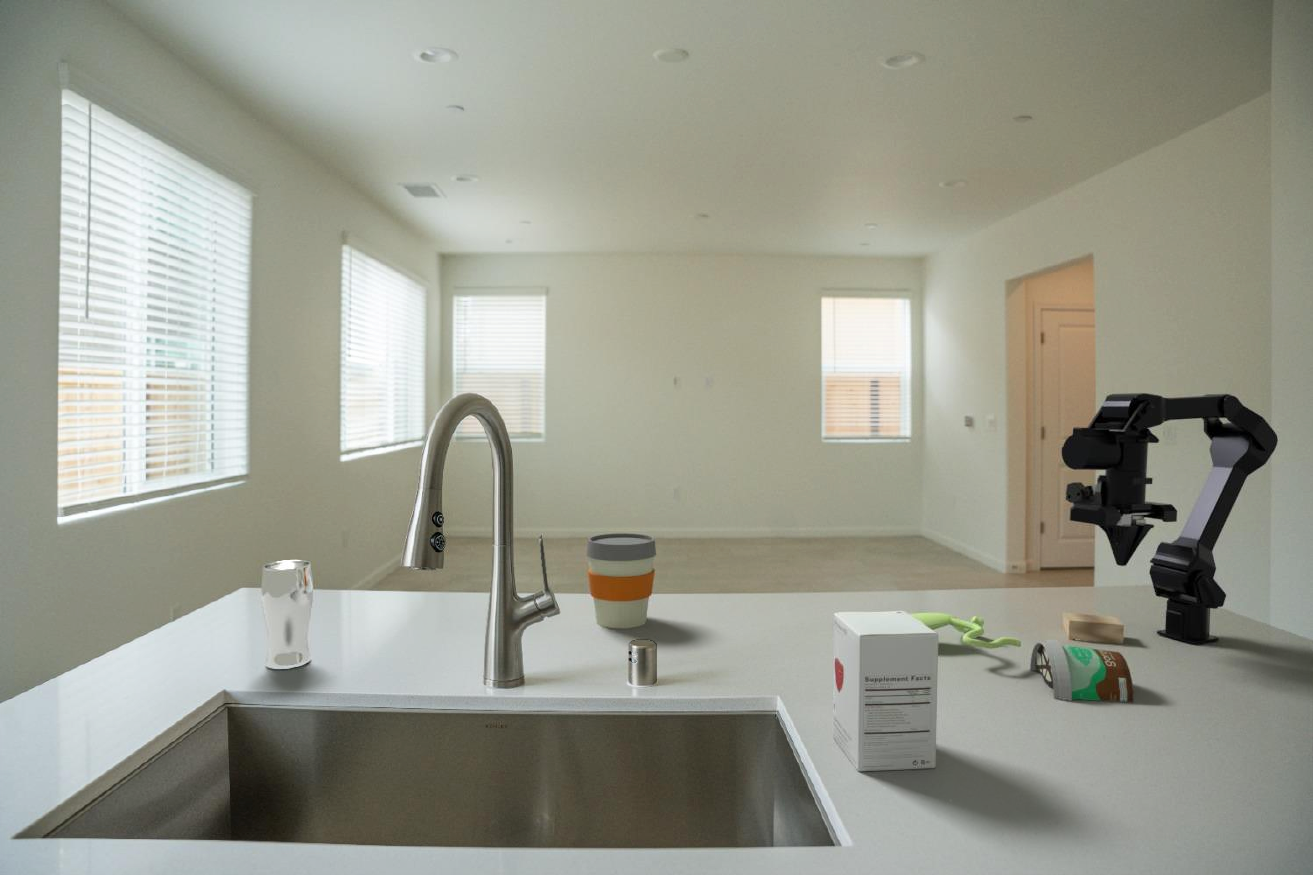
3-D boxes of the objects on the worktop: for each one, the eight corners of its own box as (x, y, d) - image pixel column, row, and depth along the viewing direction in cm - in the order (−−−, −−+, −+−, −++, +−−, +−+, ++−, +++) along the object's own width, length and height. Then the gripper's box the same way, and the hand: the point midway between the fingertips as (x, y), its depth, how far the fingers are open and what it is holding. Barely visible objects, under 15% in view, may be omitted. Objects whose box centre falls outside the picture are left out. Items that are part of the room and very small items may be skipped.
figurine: (1026, 677, 111) (1027, 639, 110) (838, 663, 116) (839, 627, 116) (997, 639, 129) (998, 606, 129) (835, 629, 134) (836, 597, 134)
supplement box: (830, 736, 90) (831, 610, 89) (903, 733, 90) (905, 609, 90) (856, 773, 81) (858, 633, 80) (938, 770, 81) (940, 631, 81)
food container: (1139, 659, 99) (1055, 654, 101) (1138, 706, 99) (1054, 699, 101) (1104, 631, 111) (1030, 627, 113) (1102, 673, 111) (1029, 668, 113)
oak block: (1114, 637, 130) (1115, 616, 130) (1123, 645, 125) (1123, 624, 125) (1062, 632, 132) (1063, 612, 132) (1068, 640, 127) (1069, 620, 127)
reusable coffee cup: (572, 620, 138) (572, 538, 137) (625, 608, 146) (625, 530, 146) (616, 636, 128) (616, 547, 128) (670, 622, 137) (670, 539, 136)
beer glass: (324, 659, 116) (322, 562, 115) (285, 673, 110) (283, 571, 109) (292, 653, 119) (290, 558, 118) (252, 666, 113) (250, 566, 112)
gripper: (1116, 466, 135) (1111, 553, 136) (1042, 466, 127) (1038, 559, 128) (1181, 471, 125) (1176, 565, 125) (1105, 472, 117) (1100, 572, 118)
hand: (1121, 565), depth 124 cm, fingers closed
